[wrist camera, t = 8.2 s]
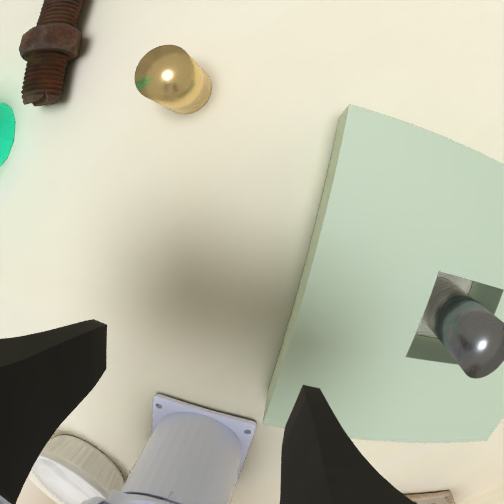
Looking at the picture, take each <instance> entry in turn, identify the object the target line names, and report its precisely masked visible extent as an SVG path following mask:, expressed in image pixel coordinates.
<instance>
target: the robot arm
mask: <svg viewBox="0 0 504 504" xmlns="http://www.w3.org/2000/svg"><path fill="white" fill-rule="evenodd" d="M106 341H107V325H106V324H104V323H101V322H99V321H96V320H94V319H93V320H88V321H83V322H79V323H75V324H72V325H68V326H64V327H60V328H57V329H53V330H49V331H45V332H40V333H35V334H31V335H26V336H21V337H14V338H5V339H0V504H16V501H17V498H18V496H19V494H20V492H21V489H22V487H23V485H24V483H25V481H26V478H27V477H28V475H29V473H30V471H31V469H32V467H33V465H34V463H35V462H36V460H37V458H38V457H39V455H40V453H41V452H42V450H43V448H44V447H45V445H46V444H47V442H48V441H49V439H50V438H51V436H52V435H53V433H54V432H55V431H56V429H57V428H58V427H59V426H60V424H61V423H62V422H63V421H64V420H65V419H66V418H67V416H68V415H69V414H70V413H71V412H72V411H73V410H74V409H75V408H76V407H77V406H78V404H79V403H80V402H81V401H82V400H83V399H84V398H85V397H86V396H87V395H88V393H89V392H90V391H91V390H92V389H93V388H94V386H95V385H96V384H97V382H98V381H99V379H100V378H101V376H102V375H103V373H104V371H105V370H106ZM159 404H160V405H161V406H160V405H159ZM247 430H250V431H247ZM255 430H256V423H255V422H254V421H252V420H247V419H243V418H239V417H235V416H231V415H227V414H223V413H220V412H216V411H212V410H209V409H205V408H202V407H199V406H195V405H192V404H189V403H185V402H182V401H179V400H176V399H173V398H170V397H167V396H164V395H161V394H156V395H155V396H154V398H153V414H152V435H151V437H150V439H149V441H148V442H147V444H146V446H145V448H144V450H143V451H142V453H141V455H140V457H139V458H138V460H137V462H136V464H135V466H134V467H133V469H132V471H131V473H130V475H129V476H128V478H127V480H126V482H125V483H124V485H123V487H122V489H121V491H120V492H119V491H117V490H114V489H112V491H111V492H110V494H109V496H108V498H107V499H104V498H102V497H98V496H97V497H93V498H91V499H88V500H85V501H83V502H82V503H80V504H230V503H231V499H232V494H233V490H234V487H235V485H236V483H237V480H238V477H239V475H240V472H241V469H242V466H243V464H244V461H245V458H246V455H247V453H248V450H249V447H250V444H251V441H252V439H253V436H254V433H255ZM280 504H416V503H415V502H413V501H412V500H411V499H409V498H408V497H406V496H405V495H404V494H402V493H401V492H400V491H398V490H397V489H396V488H395V487H393V486H392V485H391V484H390V483H389V482H388V481H387V480H386V479H385V478H383V477H382V476H381V475H380V474H379V473H378V472H377V471H376V470H375V469H374V468H373V467H372V465H371V464H370V463H369V462H368V461H367V460H366V459H365V458H364V457H363V455H362V454H361V453H360V452H359V450H358V449H357V448H356V446H355V445H354V444H353V442H352V441H351V440H350V438H349V437H348V435H347V434H346V432H345V431H344V429H343V428H342V426H341V424H340V423H339V421H338V420H337V418H336V416H335V414H334V413H333V411H332V409H331V407H330V406H329V404H328V402H327V400H326V398H325V397H324V395H323V393H322V391H321V389H320V388H316V387H311V386H307V385H302V388H301V390H300V393H299V395H298V398H297V400H296V402H295V405H294V407H293V409H292V412H291V414H290V416H289V418H288V421H287V423H286V425H285V431H284V437H283V444H282V457H281V495H280Z"/></svg>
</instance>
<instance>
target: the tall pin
mask: <svg viewBox="0 0 504 504" xmlns="http://www.w3.org/2000/svg"><path fill="white" fill-rule="evenodd" d="M422 319H423V320H424V322H425V323H426V324H427V325H428V326H429V328H430V329H431V330H432V331H433V333H434V334H435V335H436V336H437V338H438V339H439V340H440V341H441V343H442V344H443V345H444V346H445V348H446V349H447V350H448V352H449V353H450V354H451V355H452V357H453V358H454V359H455V361H456V362H457V363H458V365H459V366H460V367H461V369H462V370H463V371H464V373H465V374H466V375H467V376H469V377H470V378H475V379H477V378H482V377H485V376H487V375H489V374H491V373H492V372H494V371H495V370H496V369H497V368H498V367H499V366H500V365H501V364H502V362H503V361H504V322H502V321H501V320H500V319H499V318H497V317H496V316H495V315H494V314H492V313H491V312H490V311H489V310H487V309H486V308H485V307H484V306H482V305H481V304H480V303H478V302H477V301H476V300H475V299H473V298H472V297H471V296H469V295H468V294H467V293H465V292H464V291H463V290H461V289H460V288H459V287H457V286H456V285H455V284H453V283H452V282H451V281H449V280H448V279H446V278H442V277H437V278H436V281H435V284H434V287H433V290H432V293H431V296H430V298H429V301H428V304H427V306H426V309H425V312H424V314H423V317H422Z"/></svg>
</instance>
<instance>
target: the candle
mask: <svg viewBox="0 0 504 504" xmlns="http://www.w3.org/2000/svg"><path fill="white" fill-rule="evenodd" d="M14 131H15V119H14V115H13V111H12V108H11V107H9V106H8V105H6V104H5V103H2V102H0V166H1V165H2V164H3V162H4V161H5V160H6V159H7V158H8V155H9V152H10V149H11V147H12V144H13V141H14Z"/></svg>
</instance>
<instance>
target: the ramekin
mask: <svg viewBox="0 0 504 504" xmlns="http://www.w3.org/2000/svg"><path fill="white" fill-rule="evenodd" d="M31 470H32V472H33V474H34V475H35V476H36V478H37V479H38V480H39V481H40V483H41V484H42V485H43V486H44V487H45V488H46V489H47V490H48V491H49V492H51V493H52V494H53V495H54V496H55V497H57V498H58V499H59V500H60V501H62V502H63V503H65V504H80V503H82V502H83V501H85V500H88V499H91V498H93V497H97V496H98V497H102V498H104V499H107V498H108V496H109V494H110V492H111V491H112V489H114V490H117V491H119V492H120V491H121V489H122V487H123V485H124V481H123V478H122V475H121V473H120V471H119V469H118V468H117V466H116V465H115V464H114V463H113V462H112V461H111V460H110V459H109V458H108V457H107V456H106V455H105V454H103V453H102V452H101V451H100V450H98V449H97V448H95V447H94V446H92V445H91V444H89V443H87V442H85V441H83V440H81V439H79V438H77V437H74V436H69V435H62V436H56V437H54V438H53V439H51V440H50V441H49V442H47V444H46V445H45V447H44V448H43V450H42V452H41V453H40V455H39V457H38V458H37V460H36V462H35V463H34V465H33V467H32V469H31Z"/></svg>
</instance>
